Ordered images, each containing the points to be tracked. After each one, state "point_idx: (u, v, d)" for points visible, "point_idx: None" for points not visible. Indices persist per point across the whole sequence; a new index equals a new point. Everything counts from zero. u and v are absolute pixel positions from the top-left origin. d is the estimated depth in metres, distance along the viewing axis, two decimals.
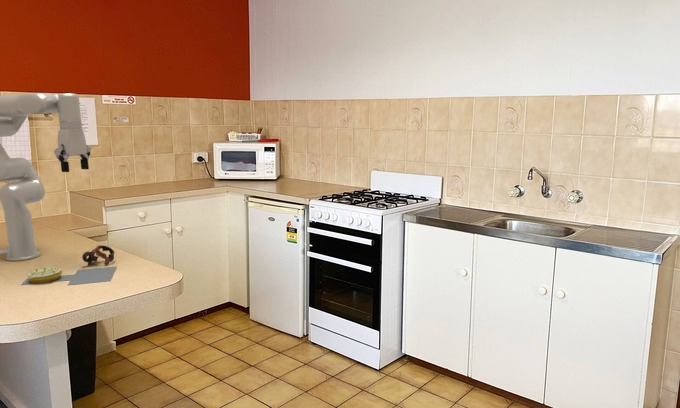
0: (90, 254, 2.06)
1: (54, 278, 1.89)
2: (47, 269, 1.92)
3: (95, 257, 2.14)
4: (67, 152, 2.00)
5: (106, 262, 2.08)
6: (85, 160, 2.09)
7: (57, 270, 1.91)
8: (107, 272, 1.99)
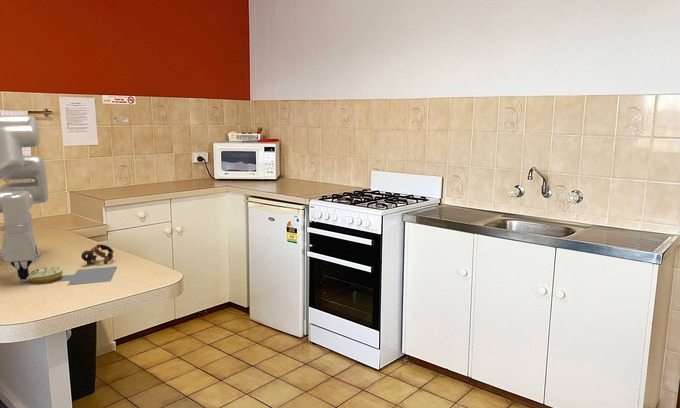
0: (89, 253, 2.08)
1: (55, 278, 1.89)
2: (48, 269, 1.93)
3: (94, 256, 2.15)
4: None
5: (105, 261, 2.10)
6: None
7: (58, 270, 1.91)
8: (107, 272, 1.99)
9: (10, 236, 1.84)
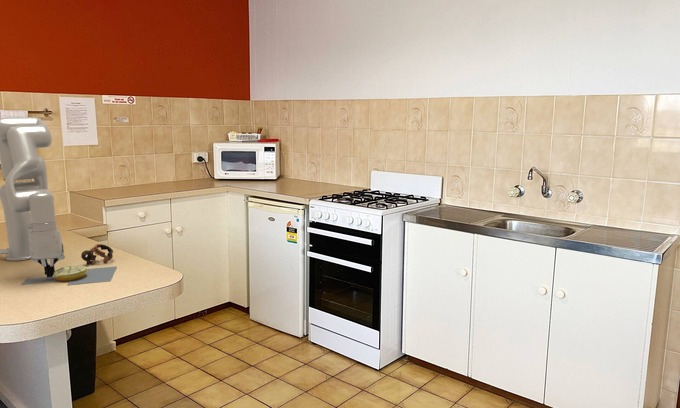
0: (89, 253, 2.08)
1: (80, 276, 1.91)
2: (73, 267, 1.94)
3: (93, 256, 2.16)
4: None
5: (105, 261, 2.10)
6: None
7: (83, 268, 1.92)
8: (107, 272, 1.99)
9: (37, 234, 1.86)
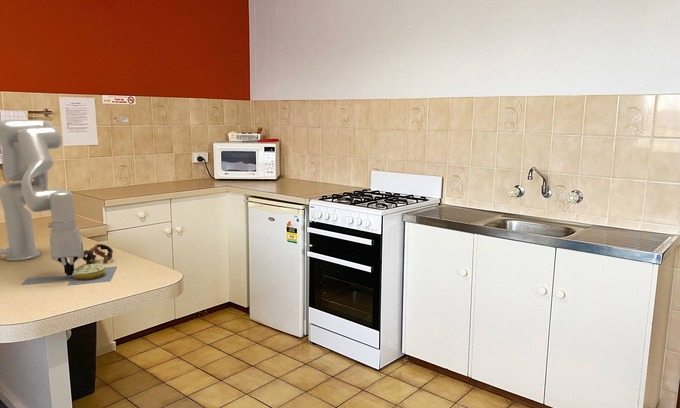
0: (89, 253, 2.08)
1: (98, 275, 1.92)
2: (92, 266, 1.95)
3: (93, 256, 2.16)
4: None
5: (105, 260, 2.10)
6: None
7: (101, 267, 1.93)
8: (107, 272, 1.99)
9: (58, 232, 1.88)
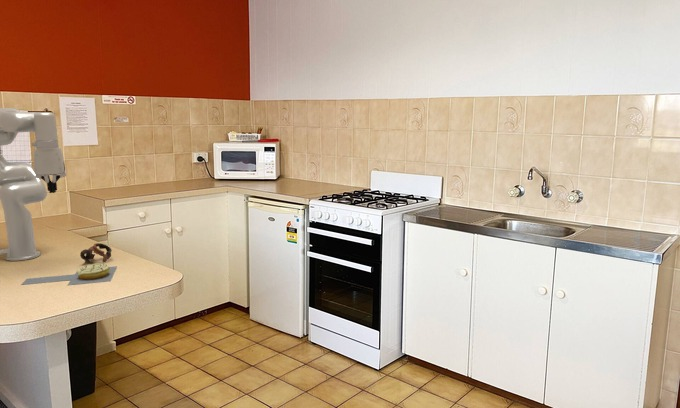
0: (88, 252, 2.10)
1: (102, 275, 1.92)
2: (96, 266, 1.96)
3: (92, 255, 2.17)
4: None
5: (104, 259, 2.12)
6: None
7: (105, 267, 1.94)
8: None
9: (41, 151, 2.00)
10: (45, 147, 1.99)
